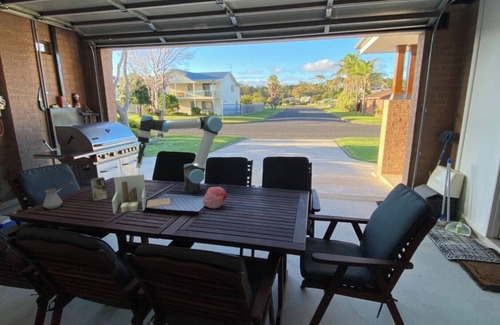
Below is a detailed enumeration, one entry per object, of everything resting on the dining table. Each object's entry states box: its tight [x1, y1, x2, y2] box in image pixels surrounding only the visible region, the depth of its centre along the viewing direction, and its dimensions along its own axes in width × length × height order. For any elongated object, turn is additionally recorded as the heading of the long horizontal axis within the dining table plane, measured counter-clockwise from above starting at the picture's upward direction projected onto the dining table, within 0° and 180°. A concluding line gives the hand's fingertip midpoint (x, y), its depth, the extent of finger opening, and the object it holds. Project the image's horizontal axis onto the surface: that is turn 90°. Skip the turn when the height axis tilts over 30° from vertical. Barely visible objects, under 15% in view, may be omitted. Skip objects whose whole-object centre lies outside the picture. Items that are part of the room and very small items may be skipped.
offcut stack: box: [120, 201, 139, 213], centre depth 186 cm, size 11×8×4 cm
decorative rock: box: [202, 186, 228, 210], centre depth 187 cm, size 19×14×15 cm
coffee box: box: [90, 176, 108, 202], centre depth 209 cm, size 9×6×16 cm
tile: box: [146, 197, 172, 208], centre depth 198 cm, size 16×14×1 cm
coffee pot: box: [42, 181, 73, 210], centre depth 196 cm, size 21×12×15 cm, turn 159°
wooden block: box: [122, 181, 139, 203], centre depth 191 cm, size 4×11×18 cm, turn 69°
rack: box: [111, 173, 147, 215], centre depth 191 cm, size 20×22×20 cm
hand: (139, 166), depth 193 cm, fingers open, 13 cm apart
